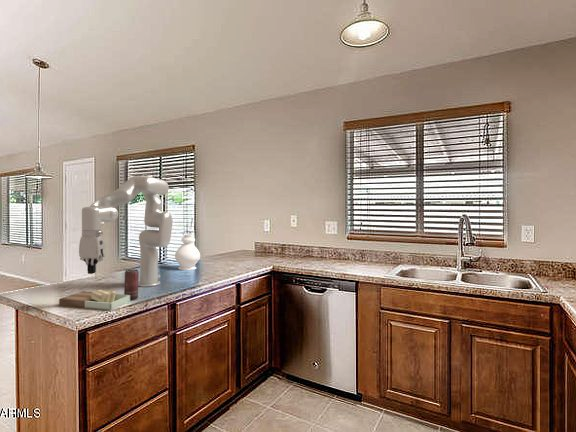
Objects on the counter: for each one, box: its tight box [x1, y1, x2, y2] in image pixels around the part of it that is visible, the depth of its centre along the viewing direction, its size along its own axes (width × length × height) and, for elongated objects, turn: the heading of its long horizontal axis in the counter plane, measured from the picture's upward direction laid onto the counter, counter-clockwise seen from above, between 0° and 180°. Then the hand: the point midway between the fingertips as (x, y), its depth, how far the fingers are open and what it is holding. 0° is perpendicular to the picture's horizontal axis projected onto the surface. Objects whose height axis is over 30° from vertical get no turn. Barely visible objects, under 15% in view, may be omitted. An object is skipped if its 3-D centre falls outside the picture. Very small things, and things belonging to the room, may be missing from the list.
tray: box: [84, 293, 131, 311], centre depth 153 cm, size 14×12×3 cm
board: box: [58, 290, 98, 309], centre depth 155 cm, size 14×12×3 cm
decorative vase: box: [174, 233, 201, 271], centre depth 244 cm, size 18×18×25 cm
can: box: [123, 269, 140, 301], centre depth 163 cm, size 6×6×14 cm
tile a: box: [91, 289, 106, 302], centre depth 153 cm, size 5×5×3 cm
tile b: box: [101, 289, 117, 303], centre depth 153 cm, size 5×5×3 cm
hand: (91, 273), depth 155 cm, fingers closed
